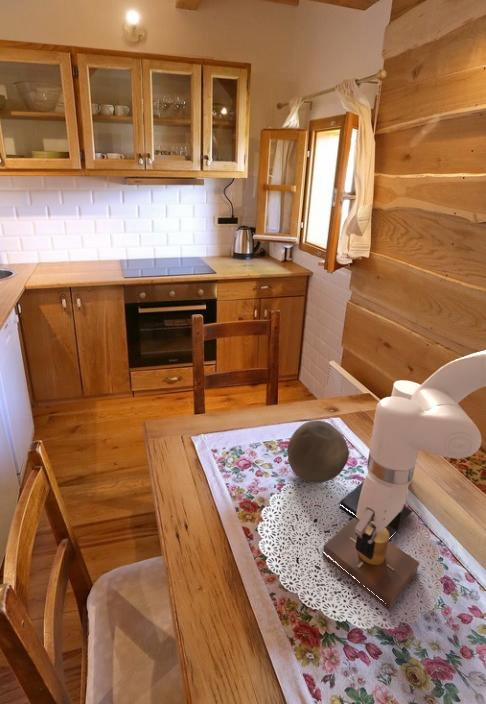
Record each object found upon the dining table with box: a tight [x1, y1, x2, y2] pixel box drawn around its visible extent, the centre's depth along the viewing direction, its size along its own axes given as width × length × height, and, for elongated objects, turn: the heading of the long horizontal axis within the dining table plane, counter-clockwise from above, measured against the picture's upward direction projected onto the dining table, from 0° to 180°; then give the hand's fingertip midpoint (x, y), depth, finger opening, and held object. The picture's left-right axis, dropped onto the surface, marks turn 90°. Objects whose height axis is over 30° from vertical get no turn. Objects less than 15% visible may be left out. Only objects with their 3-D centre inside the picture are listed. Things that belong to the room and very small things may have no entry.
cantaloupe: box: [286, 419, 350, 484], centre depth 100 cm, size 14×14×15 cm
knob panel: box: [321, 518, 420, 611], centre depth 79 cm, size 14×11×3 cm
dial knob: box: [358, 521, 390, 565], centre depth 78 cm, size 5×5×6 cm
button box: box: [338, 480, 413, 542], centre depth 91 cm, size 12×10×4 cm
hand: (377, 538), depth 77 cm, fingers open, 9 cm apart
